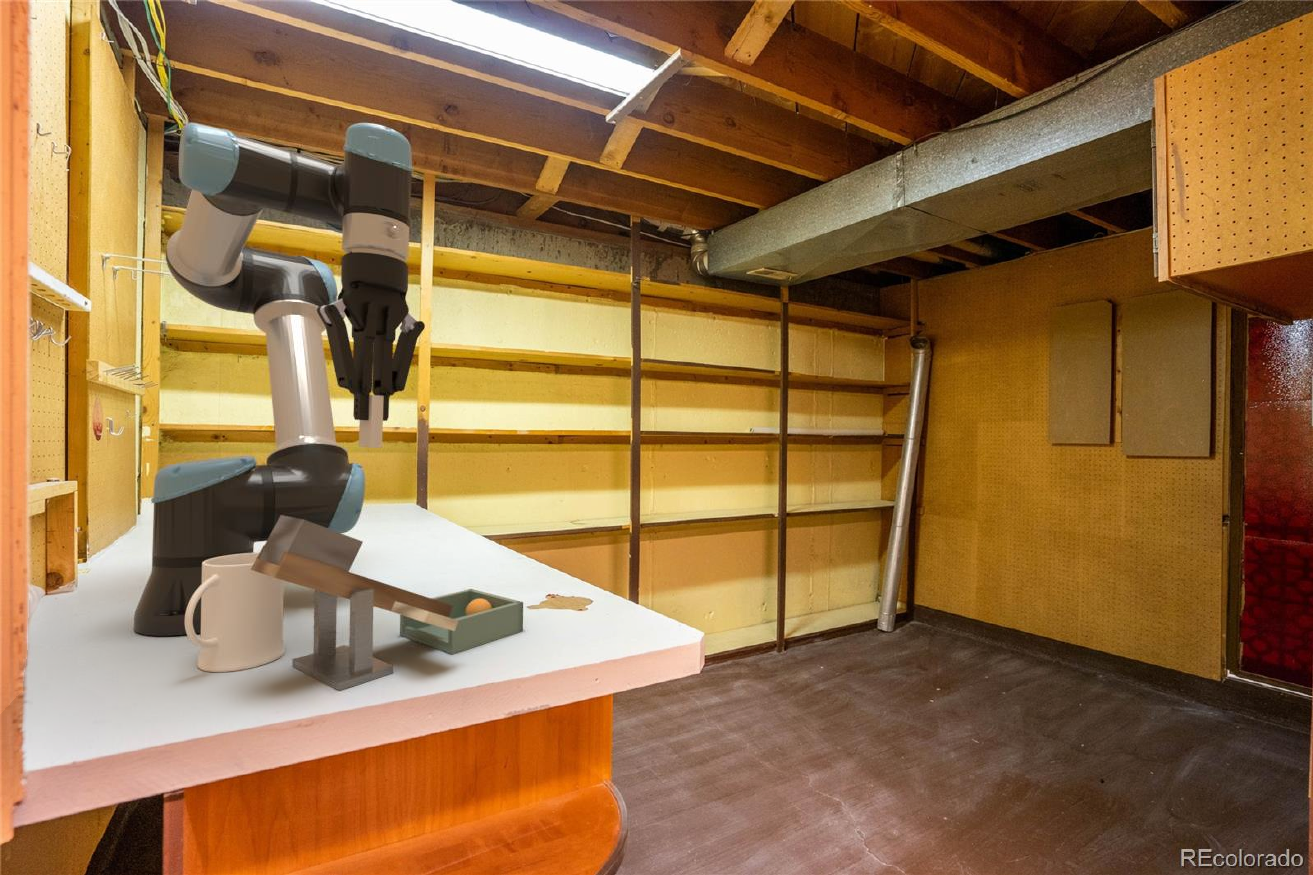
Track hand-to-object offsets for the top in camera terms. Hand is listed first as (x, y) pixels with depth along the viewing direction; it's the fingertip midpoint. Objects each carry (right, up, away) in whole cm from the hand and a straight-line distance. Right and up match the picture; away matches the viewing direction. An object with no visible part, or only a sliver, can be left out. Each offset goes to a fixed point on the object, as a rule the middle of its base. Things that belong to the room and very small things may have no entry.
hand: (370, 446), depth 74 cm
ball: (+11, -23, +9) cm, 27 cm away
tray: (+9, -26, +7) cm, 28 cm away
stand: (0, -25, -6) cm, 26 cm away
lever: (+3, -18, -7) cm, 20 cm away
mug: (-14, -26, -5) cm, 30 cm away
